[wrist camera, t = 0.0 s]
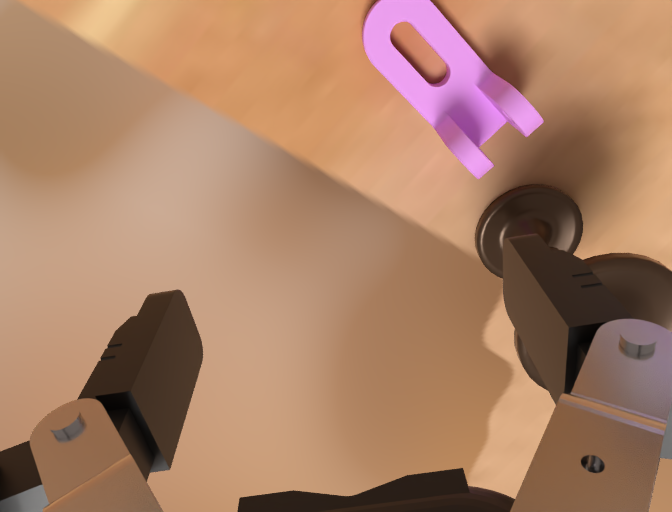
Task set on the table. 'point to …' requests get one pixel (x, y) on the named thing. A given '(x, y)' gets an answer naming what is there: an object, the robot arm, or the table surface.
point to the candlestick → (565, 234)
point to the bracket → (447, 82)
